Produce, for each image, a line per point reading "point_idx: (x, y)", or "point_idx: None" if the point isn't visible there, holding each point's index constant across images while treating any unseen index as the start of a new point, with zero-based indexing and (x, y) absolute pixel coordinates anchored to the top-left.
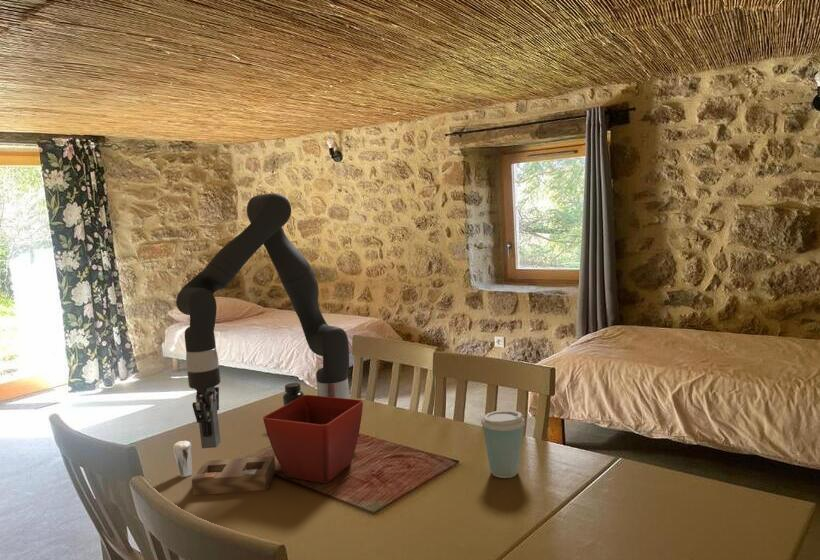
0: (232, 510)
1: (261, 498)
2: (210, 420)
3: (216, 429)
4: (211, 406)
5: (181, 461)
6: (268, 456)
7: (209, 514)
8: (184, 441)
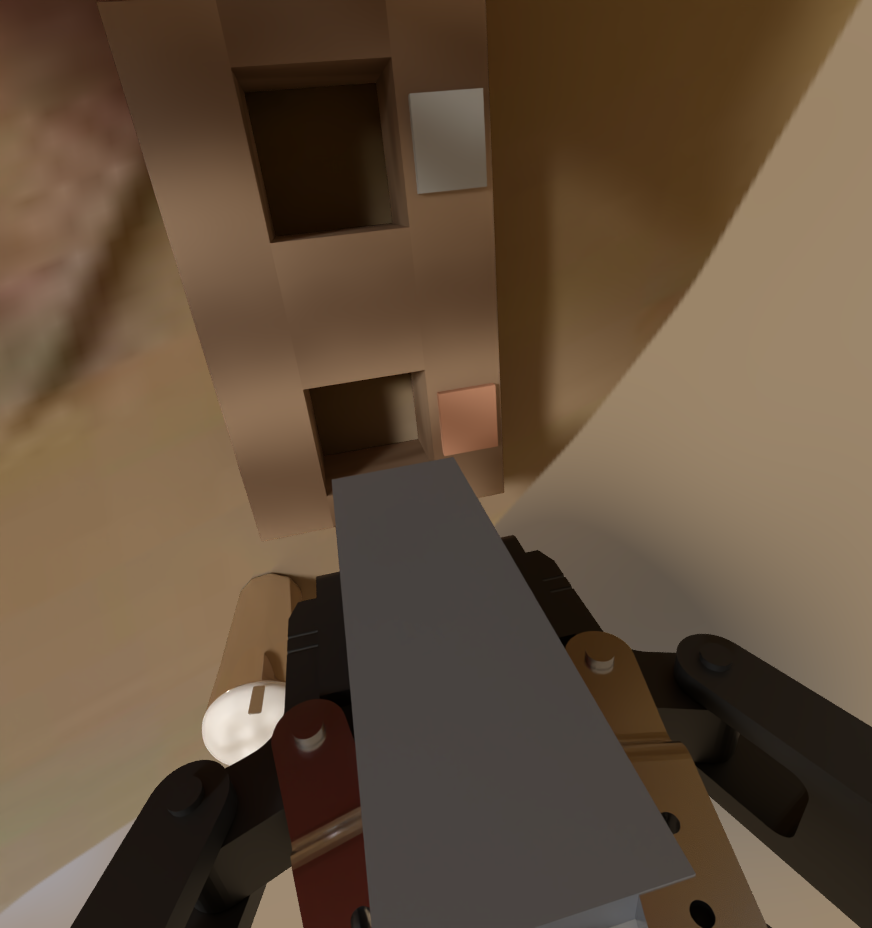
0: (658, 179)
1: (559, 27)
2: (603, 641)
3: (431, 545)
4: (688, 838)
5: None
6: (122, 67)
7: (668, 290)
8: (236, 741)
